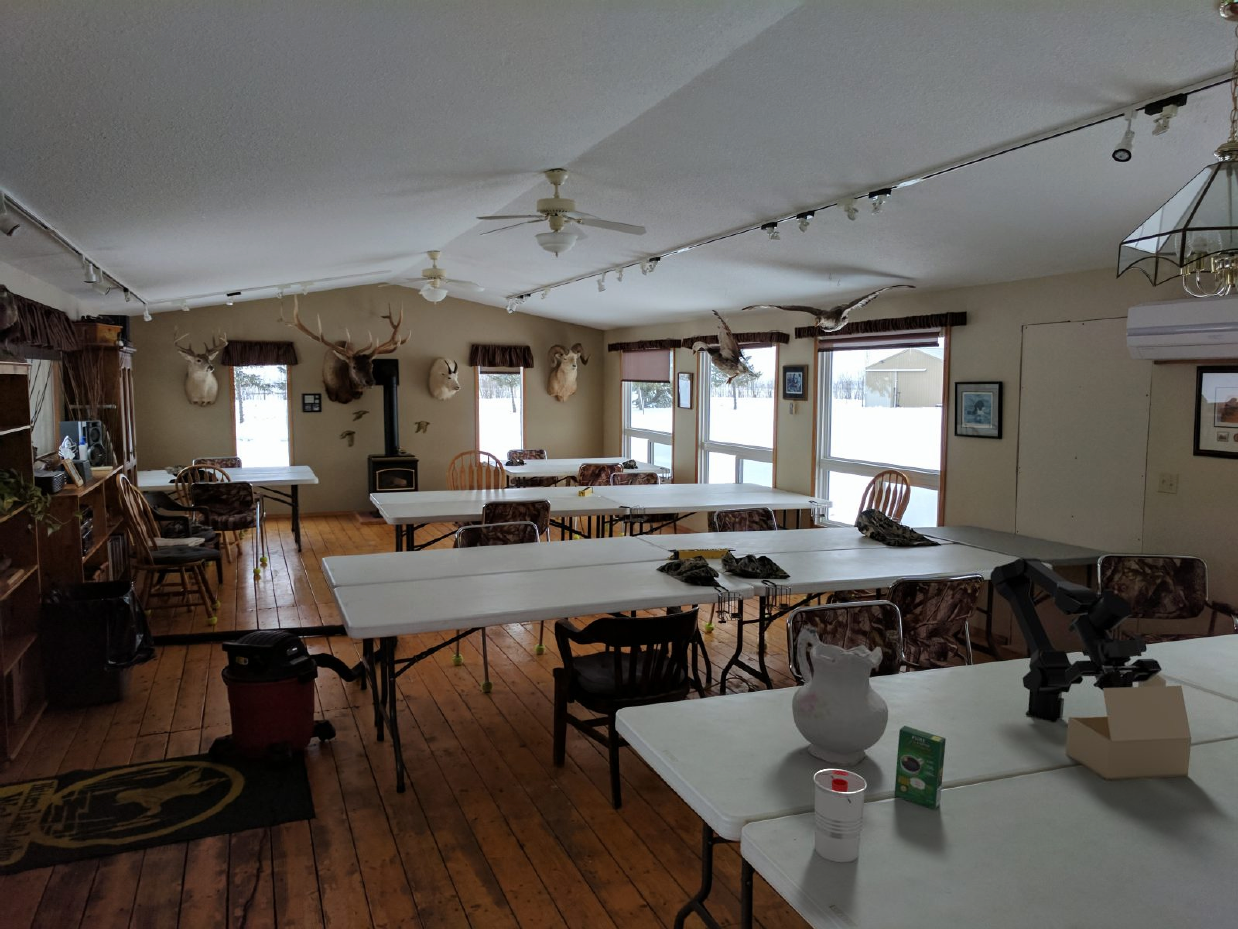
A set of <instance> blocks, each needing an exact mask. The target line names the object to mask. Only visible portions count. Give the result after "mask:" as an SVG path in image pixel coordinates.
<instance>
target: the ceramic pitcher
mask: <svg viewBox="0 0 1238 929" xmlns="http://www.w3.org/2000/svg"><path fill="white" fill-rule="evenodd" d="M817 631H818V628H817V627H815V626H813V627H812V626H810V625H803V627H802V628H801V631H800V632H799V635H798V638H797V639H798V640H797V647H796V648H797V650H796V651H797V653H796V654H797V661H798V664H799V671H800V673H801V675H802V676H803V677H802V678H803V679H804V684H803V685H801V687H799V688H798V689H797V690H796V691H795V693H794V695H793V698H792V701H791V702H792V703H791V708H792V715H793V722H794V724H795V727H796V728H797V730H798V731H799V733H800V734H801V735H802V737H803V738H804V739H805V741H807V742H808V743H809V744H808V745H807V746H808V747H807V750H808V754H810V755H812V756H814V757H816V758H818V759H820V760H822V761H826V762H828V763H830V764H834V765H835V766H839V767H849V768H850V767H851V768H852V767H854V766H856V765H857V764H858V763H859V762H861V760H863V758H864V757H865V756H866V752H865V750H868V749H870V748H872V747H873V746H875V744H877V742H879V741H880V740H881V738H882V736H883V735H884V734H885V731H886V728H887V725H888V721H889V709H888V704H887V703H886V701H885V699H883V697H882V696H881V695H880V694H879V693H878V692H877V691H875V690H874V688H872V686H871V684H870V677H871V672H872V669H874V668H877V667H878V666H880V664H881V663H882V660H883V652H882V647H880V646H876V647H875V648H874V650H872V651H871V650H869V649H868V648H867V647H866V646H865V645H863V644H862V645H859V646H855V647H854V646H853V647H851V648H849V649H845V648H843V647H841V646H838V645H835V644H825V643H823V642H822V641H821V640H820V638H819V635H818V632H817ZM808 643H809V644H811V646H812V647H811V649H810V651H809V657H810V660H811V663H812V668H813V676H812V673H811V668H810V665H809V663H808V660H807V655H806V651H807V646H808Z"/></svg>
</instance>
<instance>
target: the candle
mask: <svg viewBox="0 0 1238 929" xmlns="http://www.w3.org/2000/svg"><path fill="white" fill-rule="evenodd" d="M1154 686H1167V680H1166V679H1165V677H1163V676H1162V675H1161V674H1160V673H1157V674H1156V675H1155V676H1153V677H1152V678H1151V679H1149V680H1148V681H1145V682H1137V687H1154Z"/></svg>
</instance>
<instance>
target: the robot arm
mask: <svg viewBox="0 0 1238 929" xmlns="http://www.w3.org/2000/svg"><path fill="white" fill-rule="evenodd" d="M989 578H990V582H991V584H992V586H993V588H994V589H995V591H996V593H997V594H998V595H999V596H1000V597H1002V598H1003V599H1004V600H1006V601H1007V602H1008V603H1009V605H1010V608H1011V610H1012V613H1013V615H1014V617H1015V621H1016V622H1017V624H1018V627H1019V629H1020V631H1021V633H1022V636H1023V638H1024V640H1025V643H1026V645H1027V647H1028V650H1029V652H1030V655H1031V656H1030V660H1029V665H1028V667H1029V672H1027V673H1026V674H1025V675H1024V676H1023V677H1022V685H1023V687H1024V688H1025V689H1027V690H1029V693H1028V694H1029V695H1028V706H1027V707H1028V709H1027V711H1025V715H1026V716H1029V717H1033V718H1036V719H1040V720H1041V719H1042V720H1045V721H1050V722H1052V723H1056V722H1057V721H1058V720H1059V719H1060V718H1062V717H1063V716H1064V705H1065V699H1064V697H1062V695H1063V693H1069V692H1070V690H1071V687H1072V685H1080V684H1082V682H1083V680H1084V678H1083V677H1094V678H1095V682H1094V683H1093V687H1095V688H1099V689H1100V690H1101V691H1103V688H1124V687H1134V683H1138V682H1145V681H1148V680H1149V679H1151V678H1152V677H1153V676H1155V675H1156V674H1157V673H1158V674H1160V672H1161V671H1163V669H1162V667H1161V665H1160V663H1159V662H1158V660H1157V659H1154V658H1139V659H1136V660H1135V661H1134V662H1133V663H1131V664H1129V665H1126V663H1129V662H1131V660H1132V659H1131V658H1132V657H1142V656H1143V653H1145V652H1147V649H1148V648H1147V645H1146V641H1144V640H1143V637H1142V636H1133V637H1129V638H1128V640H1120V639H1118V638H1112V634H1110V632H1109V631H1112V630H1114V629H1116V628H1117V627H1118V626H1119V625H1120V624H1122V623H1123V622H1124V621H1125V620H1126V619H1127V618H1128V617H1129V616H1130V615H1131V614H1132V612H1133V610H1132V606H1131V604H1130V602H1129V601H1127V600H1126V599H1125V598H1124V597H1123V596H1121V595H1119V594H1116V593H1115V591H1114V589H1103V591H1101V593H1100V594H1099V595H1097V593H1096V592H1095V591H1094V589H1092V588H1089V587H1086V586H1084V585H1082V584H1077V583H1073V582H1071V581H1068V580H1067V579H1066V578H1064V577H1062V576H1061V575H1060V574H1058V573H1057V572H1055V571H1054V570H1053V569H1051V568H1050V567H1048V566H1047V565H1046V564H1044V563H1043V562H1042V561H1041V560H1040V558H1037V557H1020V558H1017V559H1016V560H1014V561H1011V562H1008V563H1005V564H1001V565H997V566H995V567H994V568H993V570H992V571H991V572H990V576H989ZM1032 582H1033V583H1034V584H1035V585H1036V586H1037V587H1039V588H1040V589H1041V590H1043V591H1044V592H1046V593H1047V594H1048V595H1050V596H1051V597H1052V598H1053V604H1054V606H1056V607H1057V609H1058V610H1059V611H1060V612H1061V613H1062V614H1063V615H1066V616H1078V617H1077V619H1074V618H1073V619H1071V623H1070V625H1069V627H1068V631H1069V632H1070V633H1077V635H1078V636H1079V639H1080V641H1081V643H1082V644H1083V647H1084V649H1083V651H1081V652H1082V655H1083V656H1084V657H1088V658H1089V660H1076V661H1075V662H1074V663H1073V662H1072V663H1071V662H1070V660H1069V657H1068V654H1067V652H1066V651H1065V650H1057V649H1056V648H1055V647H1053V645H1052V643H1051V641H1050V638H1049V636H1048V633H1047V631H1046V629H1045V627H1044V625H1043V623H1042V620H1041V618H1040V616H1039V614H1038V612H1037V609H1036V608H1035V607H1036V606H1035V605H1034V603H1033V601H1032V599H1031V597H1030V591H1031V587H1032ZM1079 615H1080V616H1079Z"/></svg>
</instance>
